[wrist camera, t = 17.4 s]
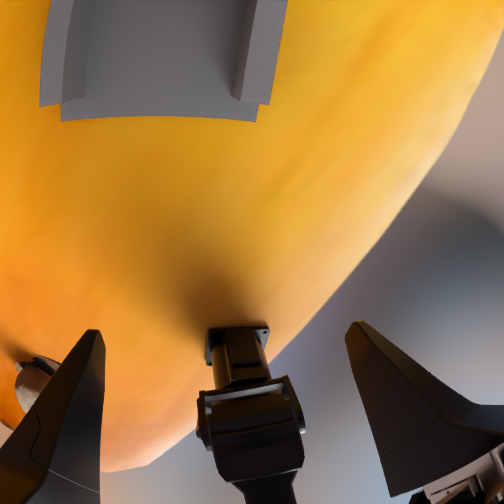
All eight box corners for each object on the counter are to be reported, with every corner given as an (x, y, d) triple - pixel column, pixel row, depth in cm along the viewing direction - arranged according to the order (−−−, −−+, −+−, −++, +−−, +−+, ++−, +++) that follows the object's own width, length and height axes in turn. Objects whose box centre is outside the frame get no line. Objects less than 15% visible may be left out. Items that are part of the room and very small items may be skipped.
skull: (108, 397, 32) (74, 446, 27) (79, 366, 38) (50, 409, 32) (44, 354, 25) (7, 412, 19) (28, 324, 30) (-5, 373, 25)
